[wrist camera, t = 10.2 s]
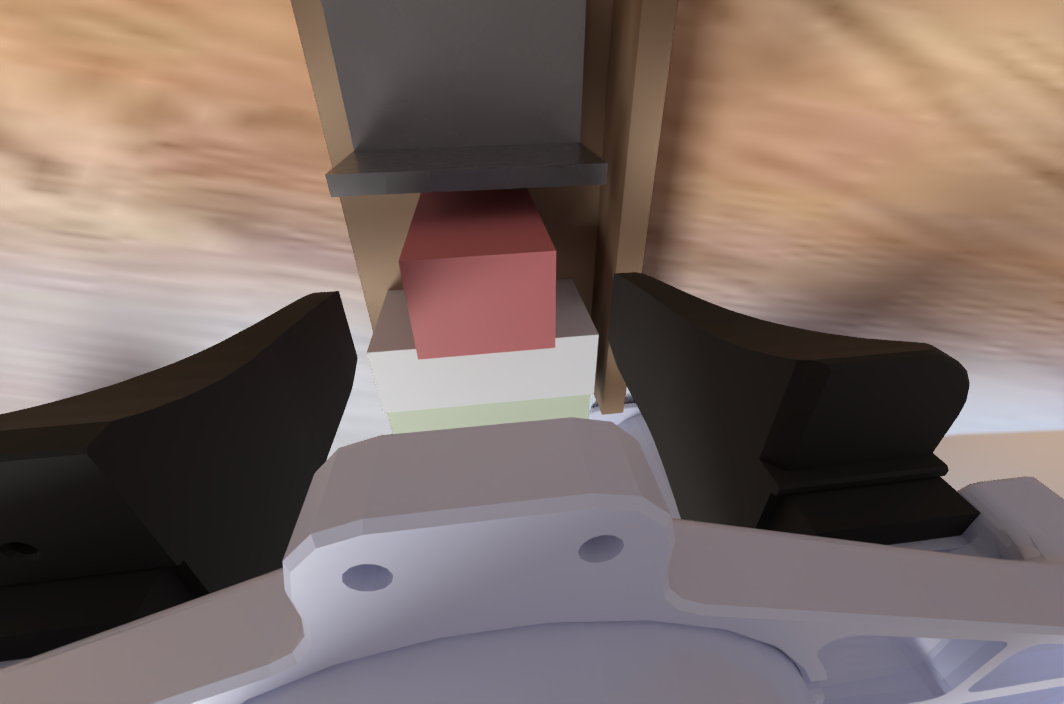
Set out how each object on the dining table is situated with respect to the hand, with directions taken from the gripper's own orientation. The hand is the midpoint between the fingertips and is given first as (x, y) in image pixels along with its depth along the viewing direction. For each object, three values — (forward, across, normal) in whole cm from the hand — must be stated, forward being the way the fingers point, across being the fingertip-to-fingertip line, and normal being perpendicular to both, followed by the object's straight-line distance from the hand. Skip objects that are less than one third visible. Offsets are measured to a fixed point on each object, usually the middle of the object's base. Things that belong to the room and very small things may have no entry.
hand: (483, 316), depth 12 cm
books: (+7, 0, +5) cm, 9 cm away
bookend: (+7, 0, -5) cm, 9 cm away
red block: (+7, 0, 0) cm, 7 cm away
